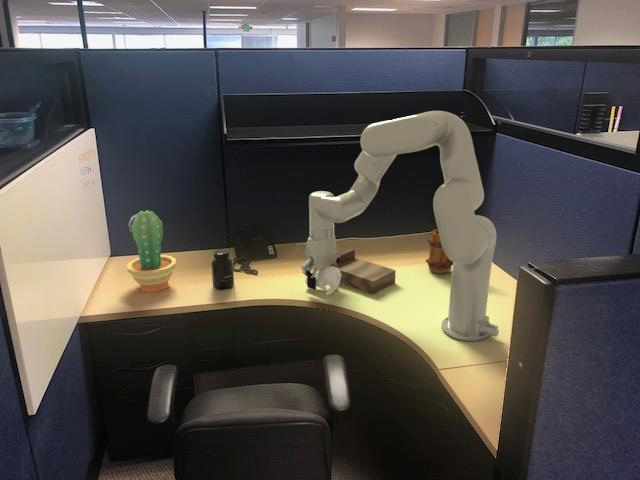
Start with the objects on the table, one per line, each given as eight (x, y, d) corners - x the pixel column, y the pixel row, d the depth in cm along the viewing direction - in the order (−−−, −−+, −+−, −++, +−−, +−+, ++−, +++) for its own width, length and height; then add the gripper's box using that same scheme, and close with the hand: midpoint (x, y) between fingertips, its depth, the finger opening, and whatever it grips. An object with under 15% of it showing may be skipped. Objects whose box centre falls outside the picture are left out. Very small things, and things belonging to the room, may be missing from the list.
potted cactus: (172, 273, 178) (164, 203, 169) (184, 289, 165) (176, 214, 157) (125, 282, 171) (115, 209, 162) (134, 300, 158) (123, 222, 150)
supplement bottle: (229, 291, 163) (226, 256, 159) (209, 289, 165) (206, 254, 161) (237, 282, 170) (235, 248, 166) (218, 281, 171) (215, 247, 167)
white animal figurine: (334, 271, 156) (299, 268, 161) (336, 297, 158) (302, 293, 164) (342, 264, 161) (308, 261, 166) (344, 289, 164) (311, 286, 169)
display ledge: (395, 282, 168) (396, 261, 166) (372, 294, 160) (373, 272, 158) (352, 268, 180) (352, 248, 178) (329, 279, 172) (329, 258, 169)
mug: (422, 272, 176) (424, 231, 171) (428, 264, 183) (431, 224, 178) (465, 280, 170) (469, 237, 165) (470, 271, 177) (474, 230, 172)
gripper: (331, 223, 166) (331, 272, 171) (292, 236, 154) (294, 288, 159) (349, 228, 161) (348, 278, 166) (311, 241, 149) (311, 295, 154)
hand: (322, 283), depth 163 cm, fingers open, 9 cm apart
